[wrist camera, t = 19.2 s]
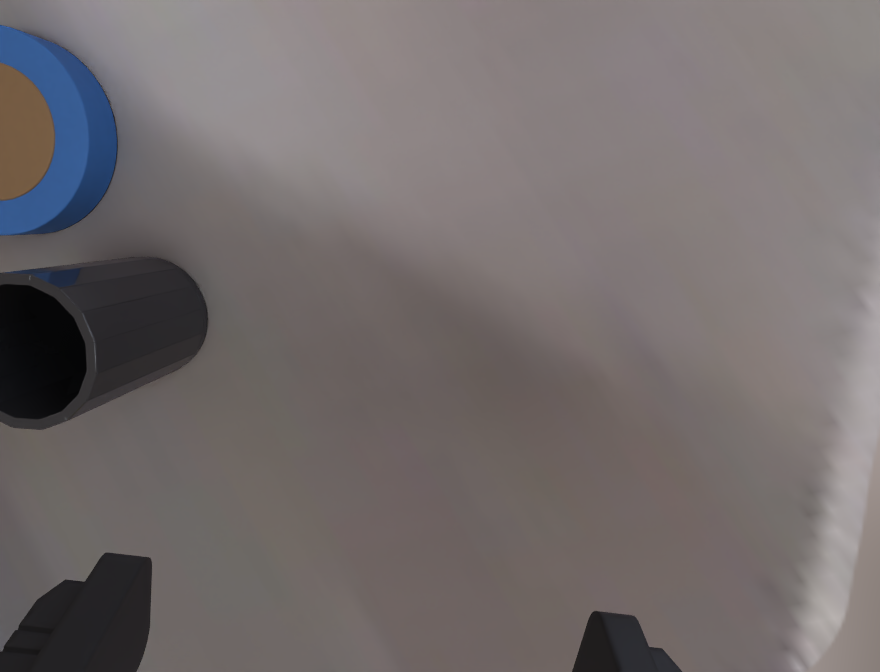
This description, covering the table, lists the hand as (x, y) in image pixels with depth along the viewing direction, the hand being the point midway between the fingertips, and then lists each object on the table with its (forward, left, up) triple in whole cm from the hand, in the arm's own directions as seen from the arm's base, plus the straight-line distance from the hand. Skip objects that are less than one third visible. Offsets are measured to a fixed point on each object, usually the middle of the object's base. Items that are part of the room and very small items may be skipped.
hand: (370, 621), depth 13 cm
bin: (-1, -17, -24) cm, 29 cm away
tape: (-10, -24, -24) cm, 35 cm away
